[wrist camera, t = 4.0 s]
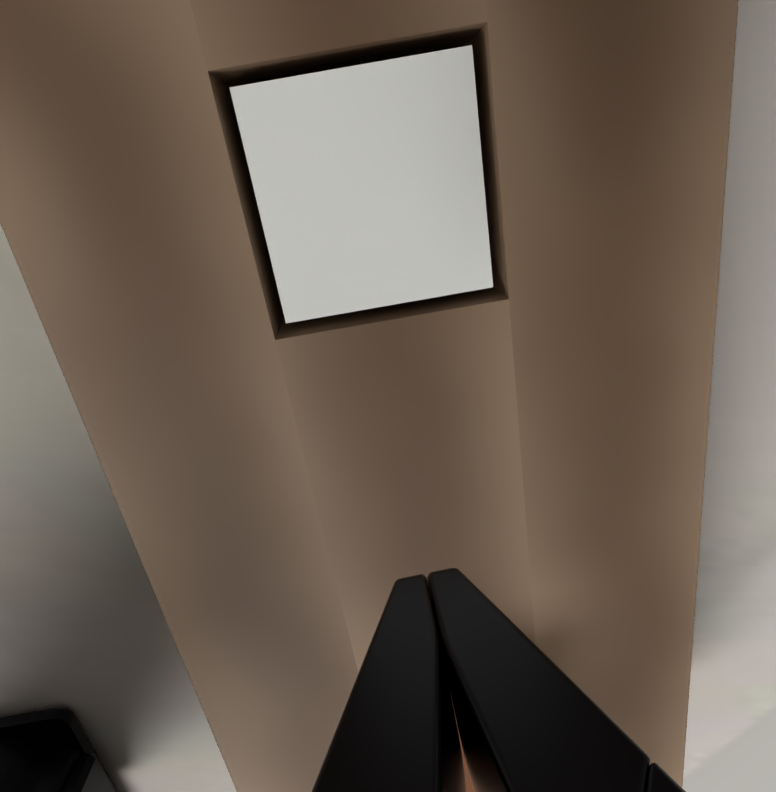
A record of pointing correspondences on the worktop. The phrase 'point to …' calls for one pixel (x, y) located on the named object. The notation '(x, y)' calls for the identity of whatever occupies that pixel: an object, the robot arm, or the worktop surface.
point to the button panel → (386, 344)
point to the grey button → (369, 182)
